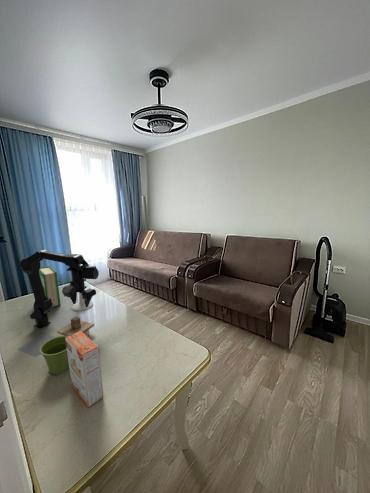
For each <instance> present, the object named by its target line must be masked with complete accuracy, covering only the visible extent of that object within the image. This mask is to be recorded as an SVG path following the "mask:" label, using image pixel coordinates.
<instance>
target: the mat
mask: <svg viewBox="0 0 370 493" xmlns="http://www.w3.org/2000/svg"><path fill="white" fill-rule="evenodd" d="M55 337H56V336H54V335H50V334H48V333H42V334H41V335H39V336H38V337H36V338H34V339H33V340H30V341H29V342H27V343H26V344H24V345H22V346H19V347H18V348H17V350H19V351H20V352H21V351H22V352H24V353H26V354H28V355H31V356H32V357H38V356H40V355H42V354H41V353H40V348H41V346H42V345H43V344H44V343H45V342H47V341H48V340H50V339H52V338H55Z"/></svg>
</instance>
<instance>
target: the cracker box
mask: <svg viewBox="0 0 370 493" xmlns="http://www.w3.org/2000/svg"><path fill="white" fill-rule="evenodd" d="M65 340H66V347H67V354H68V362H69V368H68V369H69V375H70V382H71V383H70V384H71V386H72V387H73V389H74V390H75V392H76V393H77V395H79V397H80V398H81V399H82V401H83V403H84V404H85V405H86V407H87V409H89V408H91V407H92V406H94V405H95V404H96V403H97V402H98V401H100V400H101V399H102V398H103V397H104V389H103V388H104V387H103V377H102V367H101V355H100V347H99V346H98V344H96V343H95V342H94V341H93V340H92V339H91V338H89V337H88V336H86V335H85V334H84V333H83V332H82V331H79V332H77V333H74V334H72V335H70V336H68V337H66V338H65Z"/></svg>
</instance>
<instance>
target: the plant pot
mask: <svg viewBox="0 0 370 493" xmlns="http://www.w3.org/2000/svg"><path fill="white" fill-rule="evenodd" d="M54 337H55V338H52V339H50V340H48V341H47V342H45V343H44V344H43V345H42V346H41V348H40V353H41V354H40V355H42V357H43V358H44V360H45V363H46V365H47V367H48V371H49V374H50V375H56V376H57V375H60V374H63V373H65V372H66V371H67V370H68V369H69V362H68V354H67V347H66V340H65V338H66V337H68V336H64V335H60V336H59V335H58V336H54Z"/></svg>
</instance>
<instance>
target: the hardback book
mask: <svg viewBox="0 0 370 493" xmlns="http://www.w3.org/2000/svg"><path fill="white" fill-rule="evenodd" d="M39 274H40V278H41V281H42V285H43V288H44V292H45V296H46V297H47V298H48V299H49V298H51V300H52V303H53V305H52V308H53V307H57V306H58V307H61V297H60V289H59V282H58V274H57V271H56V270H55V269H54V268H53V267H52V266H50V265H48V266H43V267H42V266H40V270H39Z"/></svg>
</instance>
